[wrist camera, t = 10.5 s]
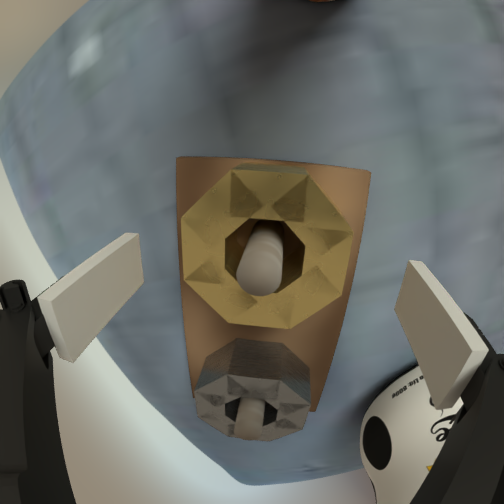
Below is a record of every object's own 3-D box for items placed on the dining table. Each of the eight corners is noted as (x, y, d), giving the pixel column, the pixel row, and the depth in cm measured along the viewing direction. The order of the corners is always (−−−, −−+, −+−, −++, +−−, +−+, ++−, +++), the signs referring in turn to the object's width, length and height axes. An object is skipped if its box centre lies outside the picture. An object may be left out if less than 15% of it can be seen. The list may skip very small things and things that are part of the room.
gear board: (367, 170, 17) (408, 191, 11) (315, 404, 26) (316, 462, 19) (181, 156, 18) (128, 170, 12) (195, 390, 27) (176, 445, 20)
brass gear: (345, 170, 16) (361, 181, 13) (326, 296, 20) (332, 332, 16) (202, 160, 17) (180, 168, 13) (203, 285, 20) (186, 317, 17)
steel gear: (315, 345, 21) (317, 382, 18) (298, 409, 25) (297, 443, 21) (205, 333, 22) (191, 368, 19) (209, 399, 26) (200, 431, 22)
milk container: (487, 299, 19) (588, 448, 3) (495, 389, 24) (540, 494, 7) (328, 389, 25) (333, 572, 8) (382, 450, 29) (394, 564, 12)
